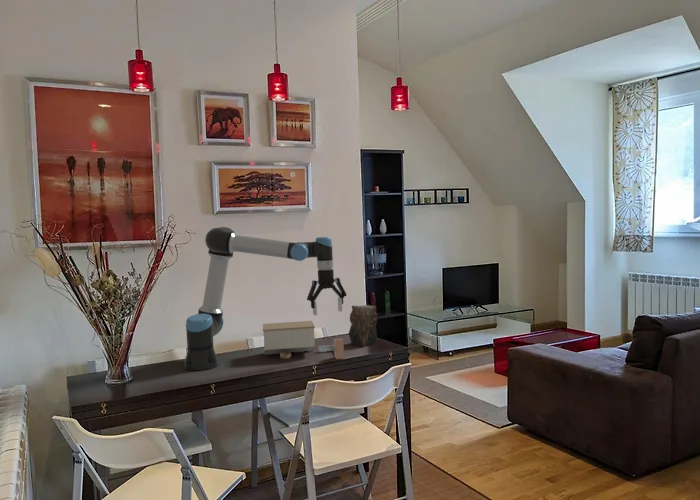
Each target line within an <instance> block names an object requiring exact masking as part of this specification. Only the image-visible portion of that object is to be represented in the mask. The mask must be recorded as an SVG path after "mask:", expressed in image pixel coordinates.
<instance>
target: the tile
mask: <svg viewBox="0 0 700 500" xmlns="http://www.w3.org/2000/svg"><path fill="white" fill-rule="evenodd" d="M289 357H291V358H292V353H291V352H290V351H286V352H280V354H279V358H280V359H281V358H284V359H290V358H289Z"/></svg>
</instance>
